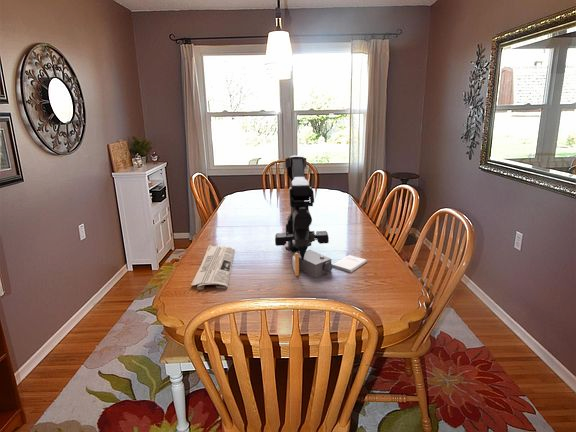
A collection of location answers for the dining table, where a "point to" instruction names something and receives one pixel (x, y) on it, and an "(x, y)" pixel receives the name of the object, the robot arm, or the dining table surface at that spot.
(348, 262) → the external hard drive
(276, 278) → the dining table surface
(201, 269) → the newspaper
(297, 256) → the side door
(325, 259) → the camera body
